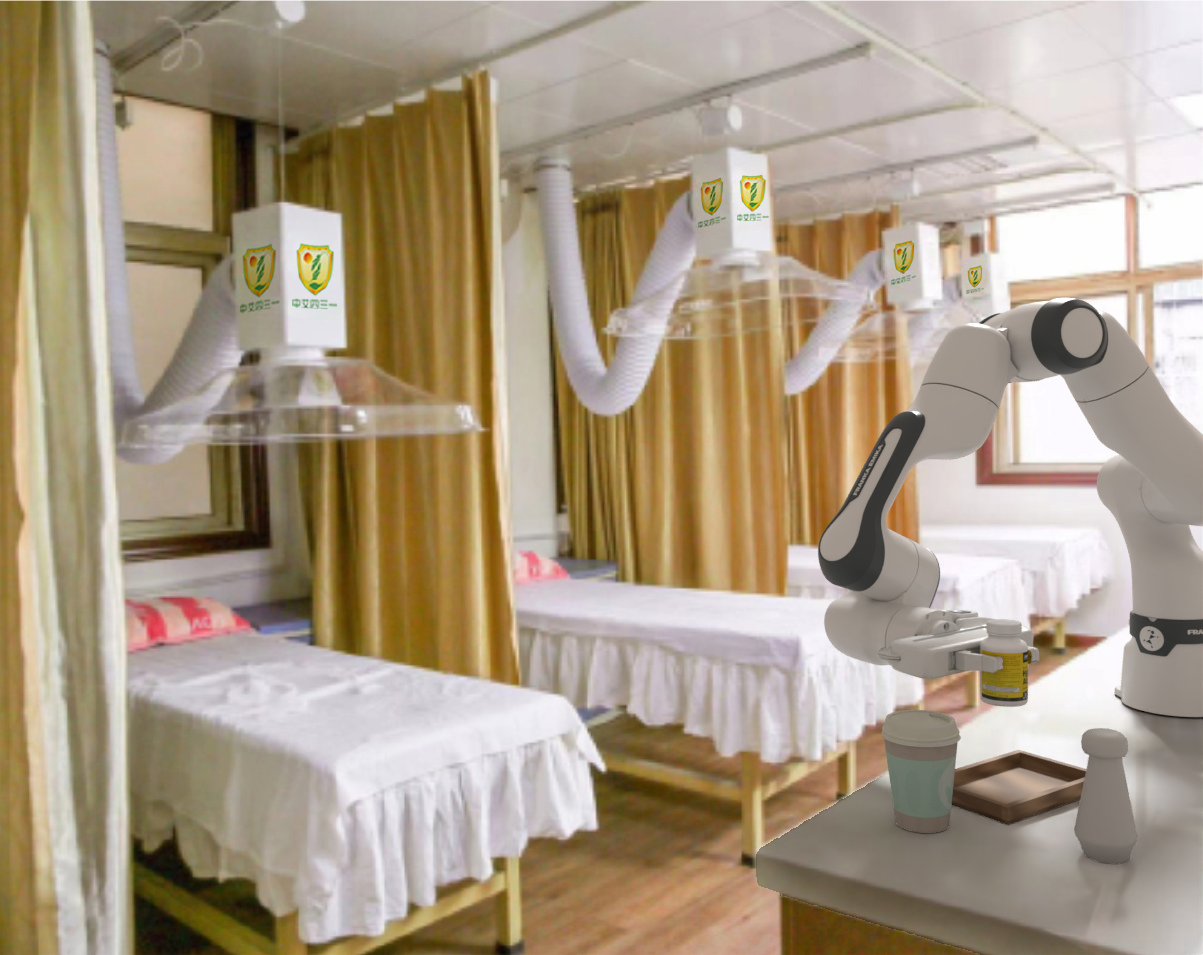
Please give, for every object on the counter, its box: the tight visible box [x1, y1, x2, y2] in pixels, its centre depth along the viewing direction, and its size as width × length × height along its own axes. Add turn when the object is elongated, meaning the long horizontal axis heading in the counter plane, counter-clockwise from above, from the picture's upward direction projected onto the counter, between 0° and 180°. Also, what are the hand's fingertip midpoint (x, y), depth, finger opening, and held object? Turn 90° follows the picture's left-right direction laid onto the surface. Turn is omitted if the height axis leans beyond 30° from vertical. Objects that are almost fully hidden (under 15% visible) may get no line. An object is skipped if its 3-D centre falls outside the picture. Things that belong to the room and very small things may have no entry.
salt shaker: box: [1073, 727, 1138, 865], centre depth 108 cm, size 6×6×13 cm
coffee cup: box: [880, 709, 961, 834], centre depth 118 cm, size 8×8×12 cm
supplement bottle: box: [979, 618, 1029, 708], centre depth 127 cm, size 5×5×10 cm
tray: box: [951, 749, 1087, 826], centre depth 127 cm, size 18×12×2 cm, turn 122°
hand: (1017, 660), depth 125 cm, fingers closed on supplement bottle, 5 cm apart
